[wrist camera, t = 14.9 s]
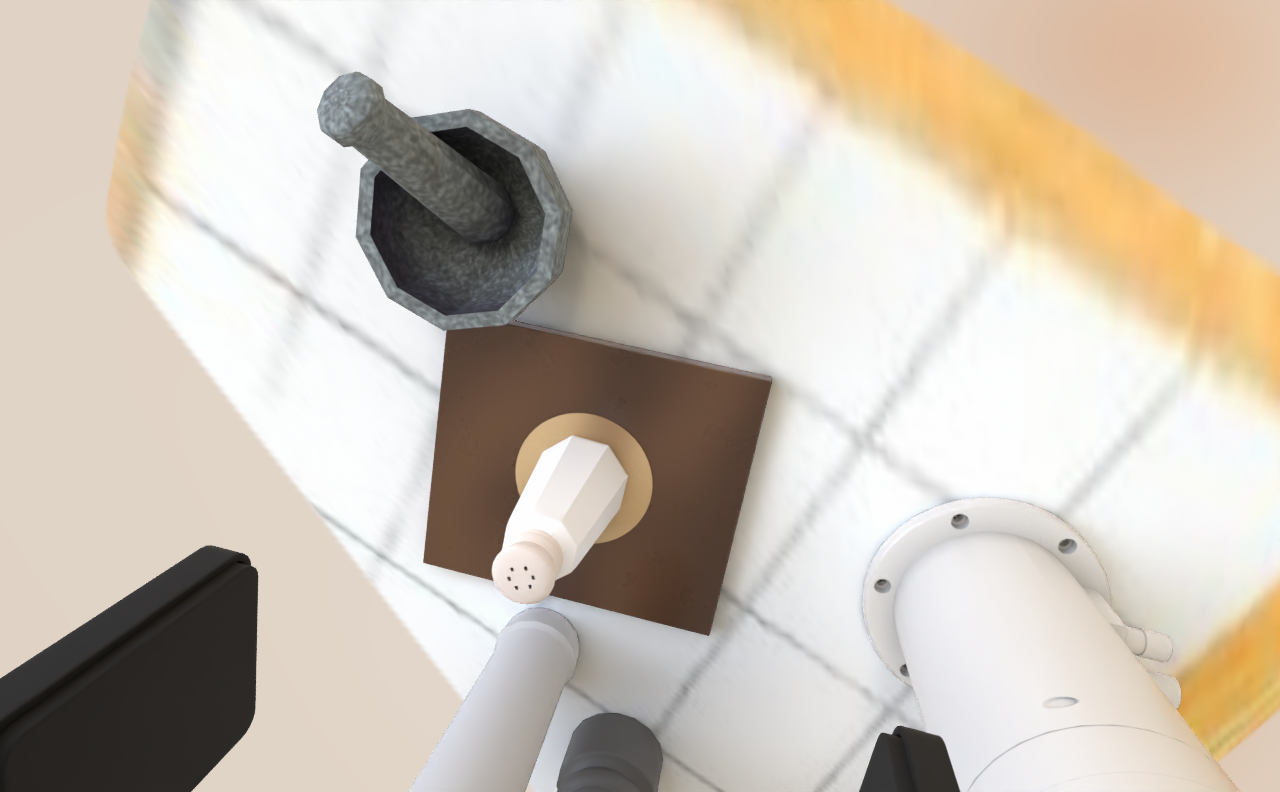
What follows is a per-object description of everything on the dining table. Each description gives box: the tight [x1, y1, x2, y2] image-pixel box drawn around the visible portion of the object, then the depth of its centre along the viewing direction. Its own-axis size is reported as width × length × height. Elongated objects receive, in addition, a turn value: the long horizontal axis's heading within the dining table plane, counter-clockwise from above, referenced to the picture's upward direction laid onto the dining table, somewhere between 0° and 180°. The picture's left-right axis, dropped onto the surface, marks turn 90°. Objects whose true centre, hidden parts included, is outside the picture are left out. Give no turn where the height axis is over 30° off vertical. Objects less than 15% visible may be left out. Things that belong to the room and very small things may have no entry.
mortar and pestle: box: [317, 72, 572, 330], centre depth 34 cm, size 11×9×12 cm
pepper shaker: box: [492, 435, 628, 604], centre depth 37 cm, size 5×5×11 cm
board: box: [423, 321, 772, 636], centre depth 42 cm, size 18×16×1 cm
